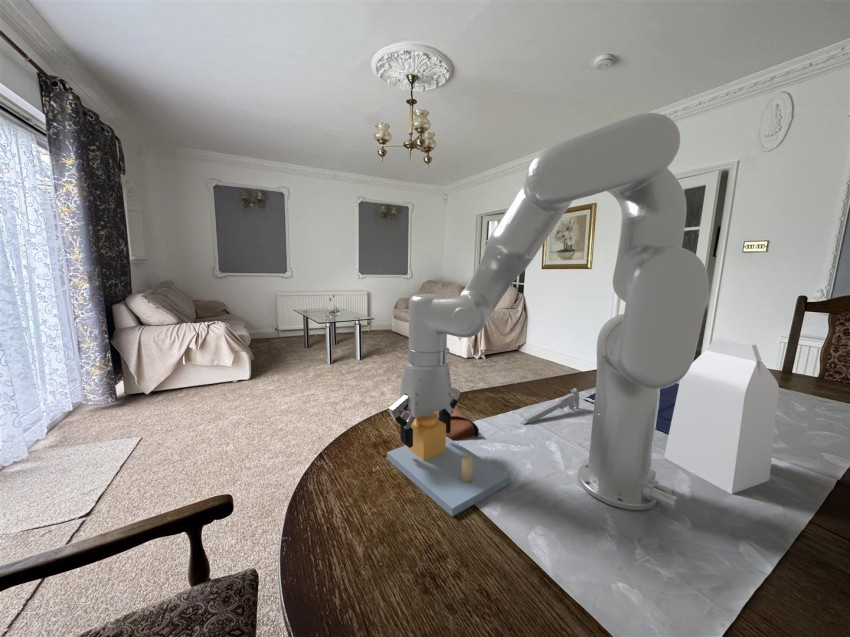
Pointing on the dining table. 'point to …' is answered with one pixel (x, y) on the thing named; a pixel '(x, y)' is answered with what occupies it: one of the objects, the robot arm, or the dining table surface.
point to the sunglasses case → (460, 426)
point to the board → (450, 476)
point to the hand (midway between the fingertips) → (426, 437)
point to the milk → (725, 417)
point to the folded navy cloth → (663, 407)
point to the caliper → (556, 406)
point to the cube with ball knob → (428, 436)
